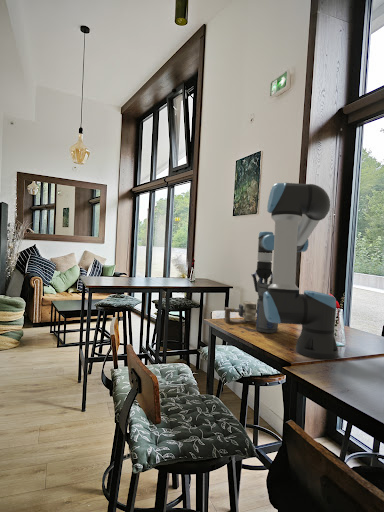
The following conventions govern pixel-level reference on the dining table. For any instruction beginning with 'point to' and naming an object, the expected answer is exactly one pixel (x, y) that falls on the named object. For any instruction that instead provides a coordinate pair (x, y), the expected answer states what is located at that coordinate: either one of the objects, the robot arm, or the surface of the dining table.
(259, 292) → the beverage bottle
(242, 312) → the dark grey flat block
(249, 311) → the sleeve
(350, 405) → the dining table surface
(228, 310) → the pipe stand
